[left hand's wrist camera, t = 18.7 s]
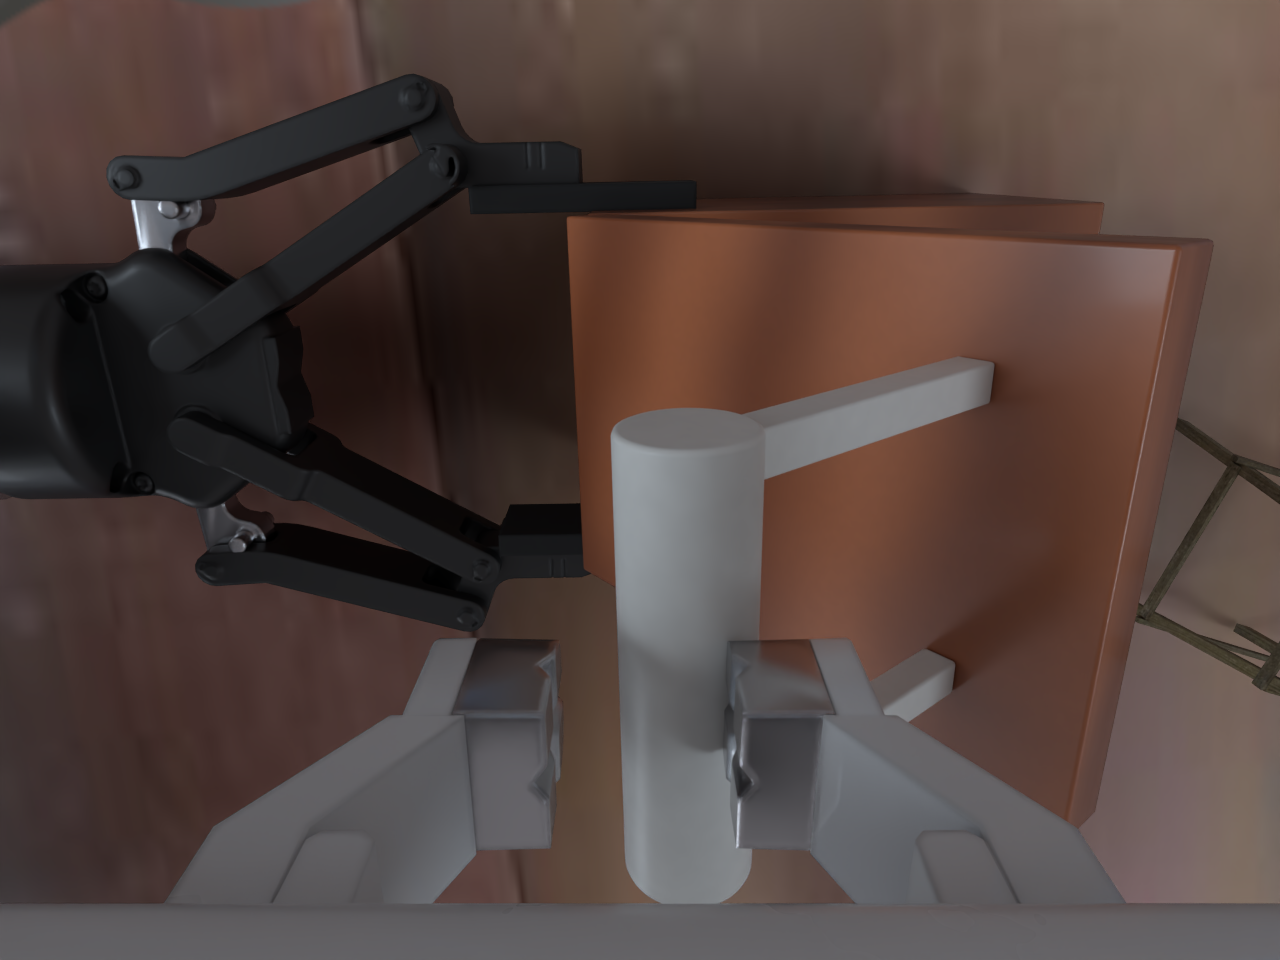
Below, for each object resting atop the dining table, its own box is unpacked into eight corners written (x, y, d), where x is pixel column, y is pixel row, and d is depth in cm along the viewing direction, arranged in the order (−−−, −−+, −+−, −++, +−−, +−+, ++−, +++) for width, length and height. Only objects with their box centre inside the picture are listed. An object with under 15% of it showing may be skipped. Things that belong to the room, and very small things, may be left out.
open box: (973, 193, 32) (1106, 202, 23) (944, 448, 35) (1049, 546, 26) (603, 200, 32) (586, 213, 23) (612, 454, 35) (600, 554, 26)
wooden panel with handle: (1217, 238, 12) (826, 308, 7) (1096, 813, 15) (780, 1138, 10) (604, 213, 22) (273, 233, 17) (615, 557, 26) (344, 656, 21)
